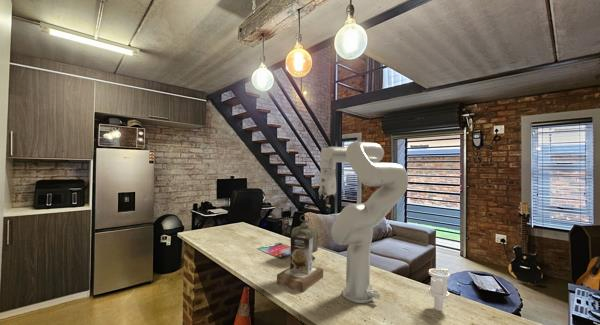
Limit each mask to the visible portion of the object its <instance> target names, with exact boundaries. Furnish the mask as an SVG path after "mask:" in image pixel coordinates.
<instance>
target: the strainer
mask: <svg viewBox="0 0 600 325" xmlns="http://www.w3.org/2000/svg"><path fill="white" fill-rule="evenodd" d="M436 273H440V274H444V275H439V274H436ZM428 275H429V276H431V277H430V287H429V288H428V294H429V295H431V297H433V302H434V304H433V309H435V310H436V311H440V312H442V311H444V300H448V299H449V298H450V292H449V291H448V281H447V280H449V279H450V278H451V277H450V276H451V274H450V271H449V269H448V268H430V269H428Z"/></svg>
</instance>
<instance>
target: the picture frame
mask: <svg viewBox="0 0 600 325" xmlns="http://www.w3.org/2000/svg"><path fill="white" fill-rule="evenodd" d="M323 278H324V268H322V267H318V266H314V265H312V270H311V271H310V273H309V274H303V273H298V272H292V271H290V267H288V268H286V269H285V270H283V271H280V272H279V273H277V274H276V284H278V285H281V286H284V287H287V288H289V289H293V290H295V291H298V292H301V293H304V292H306V290H308V289H309V288H310V287H312V286H313V285H315V284H316V283H317V282H319V281H320V280H321V279H323Z"/></svg>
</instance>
